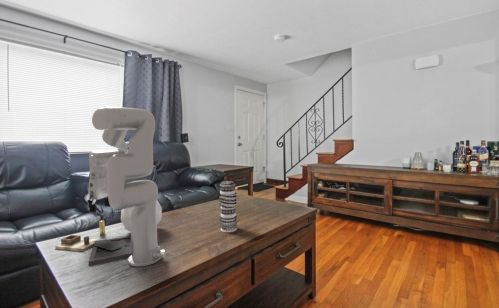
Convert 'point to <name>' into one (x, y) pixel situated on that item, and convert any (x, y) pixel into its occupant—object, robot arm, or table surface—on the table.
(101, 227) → the brass pin
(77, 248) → the board
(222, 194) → the decorative candle
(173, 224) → the table surface
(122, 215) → the geometric orb
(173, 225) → the table surface
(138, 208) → the robot arm
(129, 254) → the picture frame
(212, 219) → the table surface
